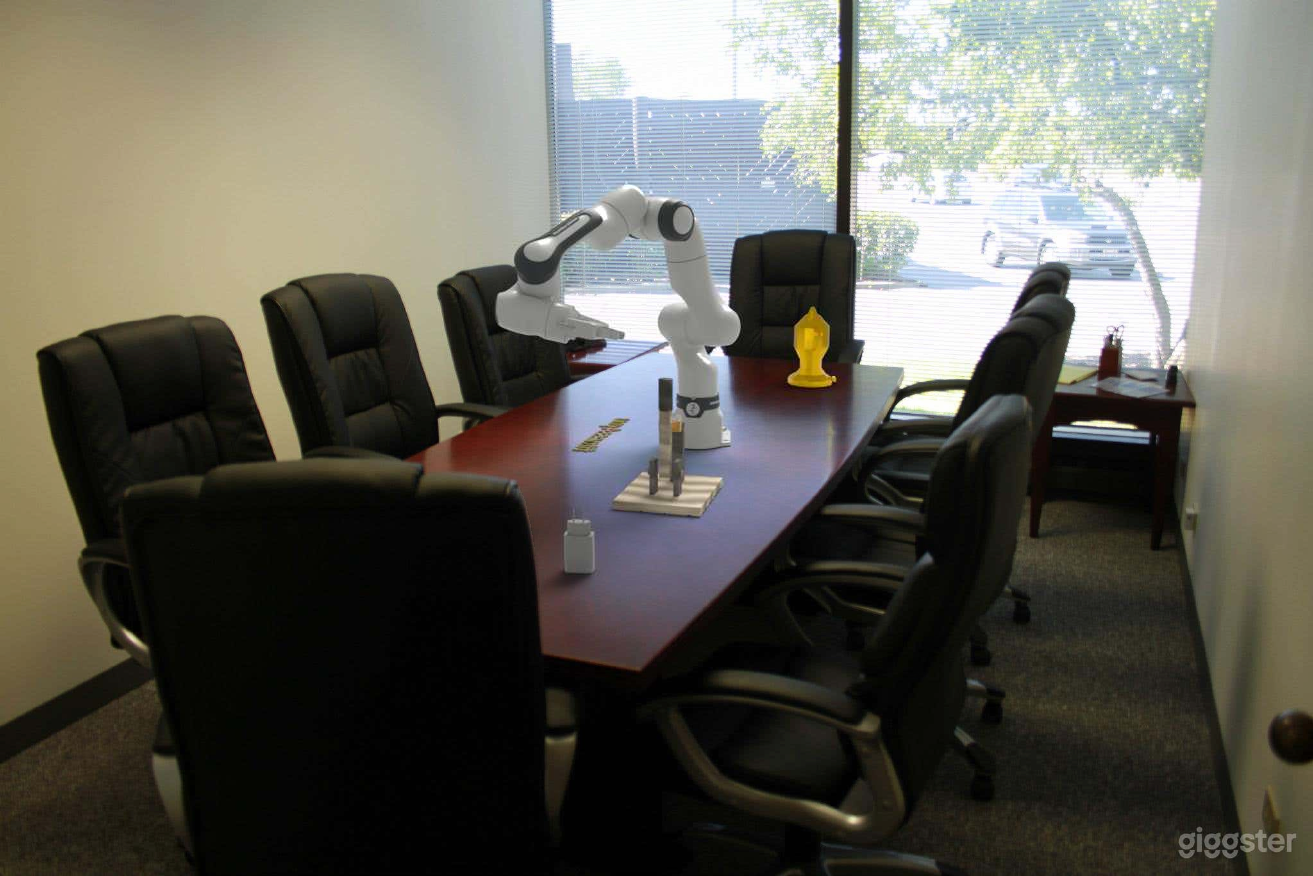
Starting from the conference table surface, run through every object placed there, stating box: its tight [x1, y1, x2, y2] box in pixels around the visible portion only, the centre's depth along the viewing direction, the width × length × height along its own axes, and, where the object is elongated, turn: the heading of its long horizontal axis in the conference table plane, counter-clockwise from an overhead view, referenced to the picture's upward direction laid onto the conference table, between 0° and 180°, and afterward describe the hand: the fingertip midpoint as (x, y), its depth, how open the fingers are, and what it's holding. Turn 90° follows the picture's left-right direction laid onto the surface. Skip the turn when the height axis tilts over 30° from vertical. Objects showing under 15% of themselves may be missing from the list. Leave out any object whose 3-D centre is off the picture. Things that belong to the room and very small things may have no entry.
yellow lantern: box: [787, 306, 837, 388], centre depth 359 cm, size 18×24×28 cm
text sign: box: [571, 417, 631, 453], centre depth 286 cm, size 40×1×8 cm
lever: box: [657, 377, 674, 479], centre depth 219 cm, size 3×3×22 cm
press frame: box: [612, 422, 724, 518], centre depth 225 cm, size 24×20×16 cm
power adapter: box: [563, 508, 596, 574], centre depth 182 cm, size 3×5×12 cm, turn 84°
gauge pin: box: [672, 415, 682, 432], centre depth 227 cm, size 10×5×2 cm, turn 165°
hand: (621, 336), depth 223 cm, fingers open, 8 cm apart
